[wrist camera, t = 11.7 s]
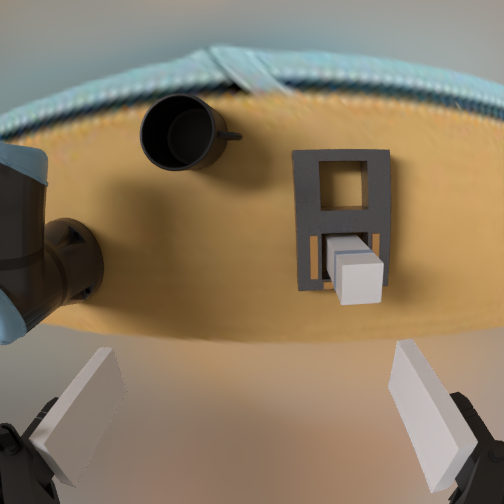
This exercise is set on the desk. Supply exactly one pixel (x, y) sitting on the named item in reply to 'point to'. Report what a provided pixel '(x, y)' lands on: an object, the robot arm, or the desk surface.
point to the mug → (183, 133)
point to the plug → (353, 269)
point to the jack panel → (339, 211)
